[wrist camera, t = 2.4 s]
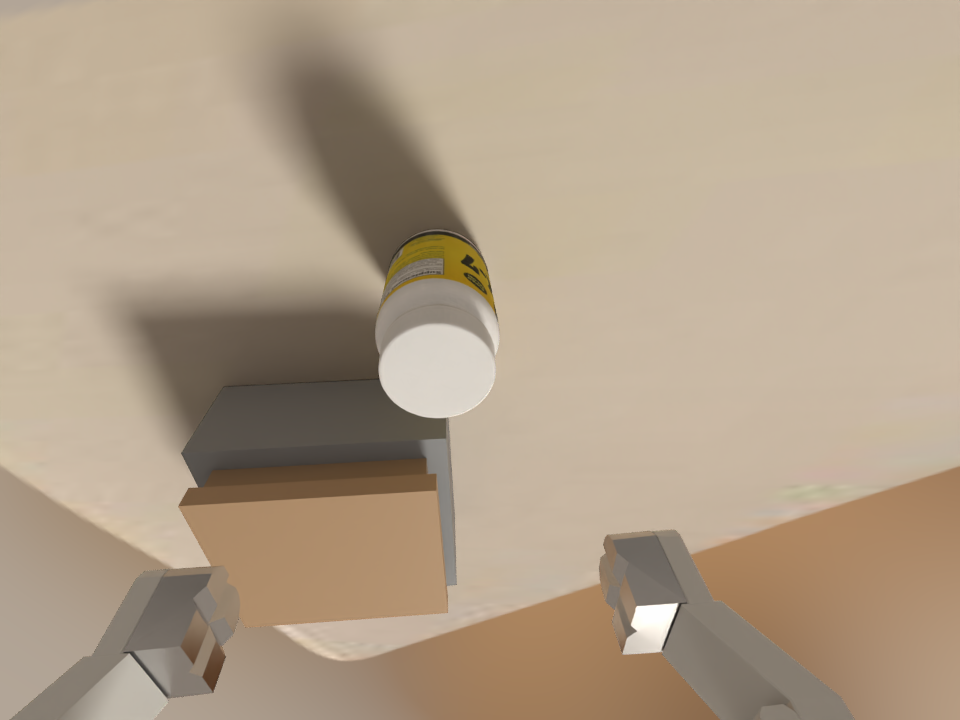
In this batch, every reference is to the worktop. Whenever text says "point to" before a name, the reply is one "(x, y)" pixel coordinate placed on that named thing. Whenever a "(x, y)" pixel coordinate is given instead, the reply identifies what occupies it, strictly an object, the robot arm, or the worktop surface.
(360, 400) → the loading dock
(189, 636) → the robot arm
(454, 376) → the supplement bottle
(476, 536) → the worktop surface
